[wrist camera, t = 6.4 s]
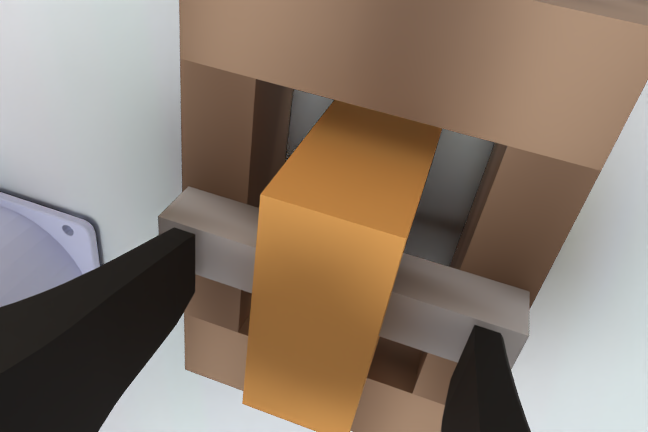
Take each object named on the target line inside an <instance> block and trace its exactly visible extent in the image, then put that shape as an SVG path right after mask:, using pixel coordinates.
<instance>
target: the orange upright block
mask: <svg viewBox="0 0 648 432" xmlns="http://www.w3.org/2000/svg"><path fill="white" fill-rule="evenodd" d="M441 131H442V128H439V127H435V126H431V125H428V124H424V123H420V122H416V121H413V120H409V119H405V118H401V117H398V116H394V115H390V114H386V113H383V112H379V111H375V110H371V109H367V108H364V107H360V106H356V105H352V104H349V103H345V102H341V101H337V100H334V101H333V102H332V104H331V105H330V106H329V107H328V109H327V110H326V111H325V113H324V114H323V115H322V116H321V118H320V119H319V120H318V122H317V123H316V124H315V125H314V127H313V128H312V129H311V130H310V132H309V133H308V134H307V136H306V137H305V138H304V139H303V141H302V142H301V143H300V144H299V146H298V147H297V148H296V150H295V151H294V152H293V153H292V155H291V156H290V157H289V159H288V160H287V161H286V162H285V164H284V165H283V166H282V167H281V169H280V170H279V171H278V173H277V174H276V175H275V176H274V178H273V179H272V180H271V182H270V183H269V184H268V185H267V187H266V188H265V189H264V190H263V192H262V193H261V194H260V205H259V216H258V228H257V240H256V251H255V263H254V275H253V286H252V298H251V309H250V321H249V333H248V344H247V356H246V368H245V379H244V391H243V403H242V404H244V405H247V406H250V407H252V408H255V409H258V410H260V411H263V412H266V413H268V414H271V415H274V416H276V417H279V418H282V419H285V420H287V421H290V422H293V423H295V424H298V425H301V426H303V427H306V428H309V429H311V430H314V431H317V432H350V430H351V427H352V423H353V420H354V417H355V414H356V411H357V407H358V404H359V401H360V398H361V395H362V392H363V388H364V385H365V382H366V379H367V376H368V372H369V369H370V366H371V363H372V360H373V357H374V353H375V350H376V347H377V344H378V341H379V337H380V336H379V334H380V330H381V327H382V323H383V320H384V317H385V313H386V310H387V306H388V303H389V300H390V296H391V293H392V289H393V286H394V283H395V279H396V276H397V272H398V269H399V266H400V262H401V259H402V256H403V252H404V249H405V245H406V242H407V239H408V236H409V233H410V230H411V226H412V223H413V220H414V217H415V214H416V211H417V208H418V205H419V202H420V198H421V195H422V192H423V189H424V186H425V183H426V180H427V177H428V174H429V170H430V167H431V164H432V161H433V158H434V154H435V151H436V148H437V144H438V141H439V138H440V134H441Z"/></svg>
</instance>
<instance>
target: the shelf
mask: <svg viewBox="0 0 648 432" xmlns="http://www.w3.org/2000/svg"><path fill="white" fill-rule="evenodd" d="M179 13H180V77H181V141H182V193H181V194H180V195H179V196H178V197H177V198H176V199H175V200H174V201H173V202H172V203H171V204H170V205H169V206H168V207H167V208H166V209H165V210H164V211H163V212H162V213H161V214H160V215H159V216H158V226H159V235H160V234H162V233H164V232H166V231H168V230H170V229H172V228H174V227H175V228H178V229H181V230H184V231H187V232H190V233H193V234H195V293H194V295H193V297H192V299H191V300H190V302H189V304H188V306H187V307H186V309H185V311H184V332H185V370H188V371H191V372H194V373H196V374H199V375H202V376H204V377H207V378H210V379H213V380H215V381H218V382H221V383H223V384H226V385H229V386H231V387H234V388H237V389H240V390H242V391H244V379H245V368H246V356H247V344H248V333H249V321H250V309H251V298H252V286H253V275H254V263H255V251H256V240H257V228H258V216H259V205H260V194H261V193H262V192H263V190H264V189H265V188H266V187H267V185H268V184H269V183H270V182H271V180H272V179H273V178H274V176H275V175H276V174H277V173H278V171H279V170H280V169H281V167H282V166H283V165H284V164H285V157H286V148H287V140H288V131H289V122H290V113H291V104H292V95H293V89H296V90H300V91H304V92H307V93H311V94H315V95H319V96H322V97H326V98H330V99H334V100H337V101H341V102H345V103H349V104H352V105H356V106H360V107H364V108H367V109H371V110H375V111H379V112H383V113H386V114H390V115H394V116H398V117H401V118H405V119H409V120H413V121H416V122H420V123H424V124H428V125H431V126H435V127H439V128H443V129H446V130H450V131H454V132H458V133H461V134H465V135H469V136H473V137H476V138H480V139H484V140H488V141H491V142H495V144H494V147H493V149H492V152H491V155H490V158H489V160H488V163H487V166H486V168H485V171H484V174H483V177H482V179H481V182H480V185H479V187H478V190H477V193H476V196H475V198H474V201H473V204H472V207H471V209H470V212H469V215H468V217H467V220H466V223H465V226H464V228H463V231H462V234H461V236H460V239H459V242H458V245H457V247H456V250H455V253H454V255H453V258H452V261H451V264H450V266H449V267H448V266H445V265H442V264H439V263H435V262H432V261H429V260H426V259H422V258H419V257H416V256H413V255H409V254H406V253H403V256H402V259H401V262H400V266H399V269H398V272H397V276H396V279H395V283H394V286H393V289H392V293H391V296H390V300H389V303H388V306H387V310H386V313H385V317H384V320H383V323H382V327H381V330H380V334H379V336H380V337H379V341H378V344H377V347H376V350H375V353H374V357H373V360H372V363H371V366H370V369H369V372H368V376H367V379H366V382H365V385H364V388H363V392H362V395H361V398H360V401H359V404H358V407H357V411H356V414H355V417H354V420H353V423H352V427H351V430H350V431H353V432H441V425H442V417H443V412H444V407H445V402H446V397H447V393H448V388H449V383H450V379H451V377H452V374H453V372H454V370H455V368H456V365H457V363H458V361H459V359H460V356H461V354H462V352H463V350H464V347H465V345H466V343H467V340H468V338H469V336H470V334H471V331H472V329H473V327H474V325H477V326H480V327H484V328H487V329H490V330H493V331H496V332H499V333H501V335H502V336H503V338H504V343H505V348H506V352H507V357H508V361H509V365H510V369H512V367H513V365H514V363H515V361H516V359H517V358H518V356H519V354H520V352H521V350H522V348H523V346H524V344H525V343H526V341H527V339H528V337H529V309H530V308H531V306H532V304H533V302H534V300H535V298H536V296H537V294H538V292H539V290H540V288H541V286H542V284H543V282H544V280H545V278H546V276H547V275H548V273H549V271H550V269H551V267H552V265H553V263H554V261H555V259H556V257H557V255H558V253H559V251H560V249H561V247H562V245H563V243H564V242H565V240H566V238H567V236H568V234H569V232H570V230H571V228H572V226H573V224H574V222H575V220H576V218H577V216H578V214H579V212H580V210H581V209H582V207H583V205H584V203H585V201H586V199H587V197H588V195H589V193H590V191H591V189H592V187H593V185H594V183H595V181H596V179H597V177H598V175H599V174H600V172H601V170H602V168H603V166H604V164H605V162H606V160H607V158H608V156H609V154H610V152H611V150H612V148H613V146H614V144H615V142H616V141H617V139H618V137H619V135H620V133H621V131H622V129H623V127H624V125H625V123H626V121H627V119H628V117H629V115H630V113H631V111H632V109H633V108H634V106H635V104H636V102H637V100H638V98H639V96H640V94H641V92H642V90H643V88H644V86H645V84H646V82H647V80H648V0H179Z"/></svg>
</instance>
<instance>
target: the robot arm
mask: <svg viewBox="0 0 648 432" xmlns="http://www.w3.org/2000/svg"><path fill="white" fill-rule="evenodd" d="M194 293H195V234H193V233H190V232H187V231H184V230H181V229H178V228H175V227H174V228H172V229H170V230H168V231H166V232H164V233H162V234H160V235H158V236H157V237H155V238H153V239H151V240H149V241H147V242H145V243H144V244H142V245H140V246H138V247H136V248H134V249H133V250H131V251H129V252H127V253H125V254H123V255H121V256H119V257H117V258H115V259H114V260H112V261H110V262H108V263H106V264H104V265H102V266H100V263H99V256H98V248H97V241H96V234H95V230H94V228H93V226H92V225H91V224H90V223H89V222H88V221H86V220H83V219H80V218H77V217H74V216H71V215H68V214H65V213H62V212H59V211H56V210H53V209H50V208H47V207H44V206H41V205H38V204H35V203H32V202H29V201H26V200H23V199H20V198H17V197H14V196H11V195H8V194H5V193H2V192H0V432H98V431H99V429H100V428H101V426H102V425H103V423H104V421H105V420H106V418H107V417H108V415H109V413H110V412H111V410H112V409H113V407H114V406H115V404H116V403H117V401H118V400H119V399H120V397H121V396H122V394H123V393H124V392H125V390H126V389H127V388H128V386H129V385H130V384H131V382H132V381H133V380H134V379H135V377H136V376H137V375H138V374H139V372H140V371H141V370H142V368H143V367H144V366H145V365H146V363H147V362H148V361H149V359H150V358H151V357H152V356H153V354H154V353H155V352H156V350H157V349H158V348H159V347H160V345H161V344H162V343H163V341H164V340H165V339H166V337H167V336H168V335H169V334H170V332H171V331H172V330H173V328H174V327H175V326H176V324H177V323H178V321H179V319H180V318H181V316H182V314H183V313H184V311H185V309H186V307H187V306H188V304H189V302H190V300H191V299H192V297H193V295H194ZM441 432H531V431H530V428H529V426H528V423H527V420H526V417H525V414H524V411H523V408H522V405H521V402H520V399H519V396H518V393H517V390H516V386H515V383H514V379H513V376H512V372H511V369H510V365H509V361H508V357H507V352H506V348H505V343H504V338H503V336H502V335H501V333H499V332H496V331H493V330H490V329H487V328H484V327H480V326H477V325H474V327H473V329H472V331H471V334H470V336H469V338H468V340H467V343H466V345H465V347H464V350H463V352H462V354H461V356H460V359H459V361H458V363H457V365H456V368H455V370H454V372H453V374H452V377H451V379H450V383H449V388H448V393H447V397H446V402H445V407H444V412H443V417H442V425H441Z"/></svg>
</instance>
